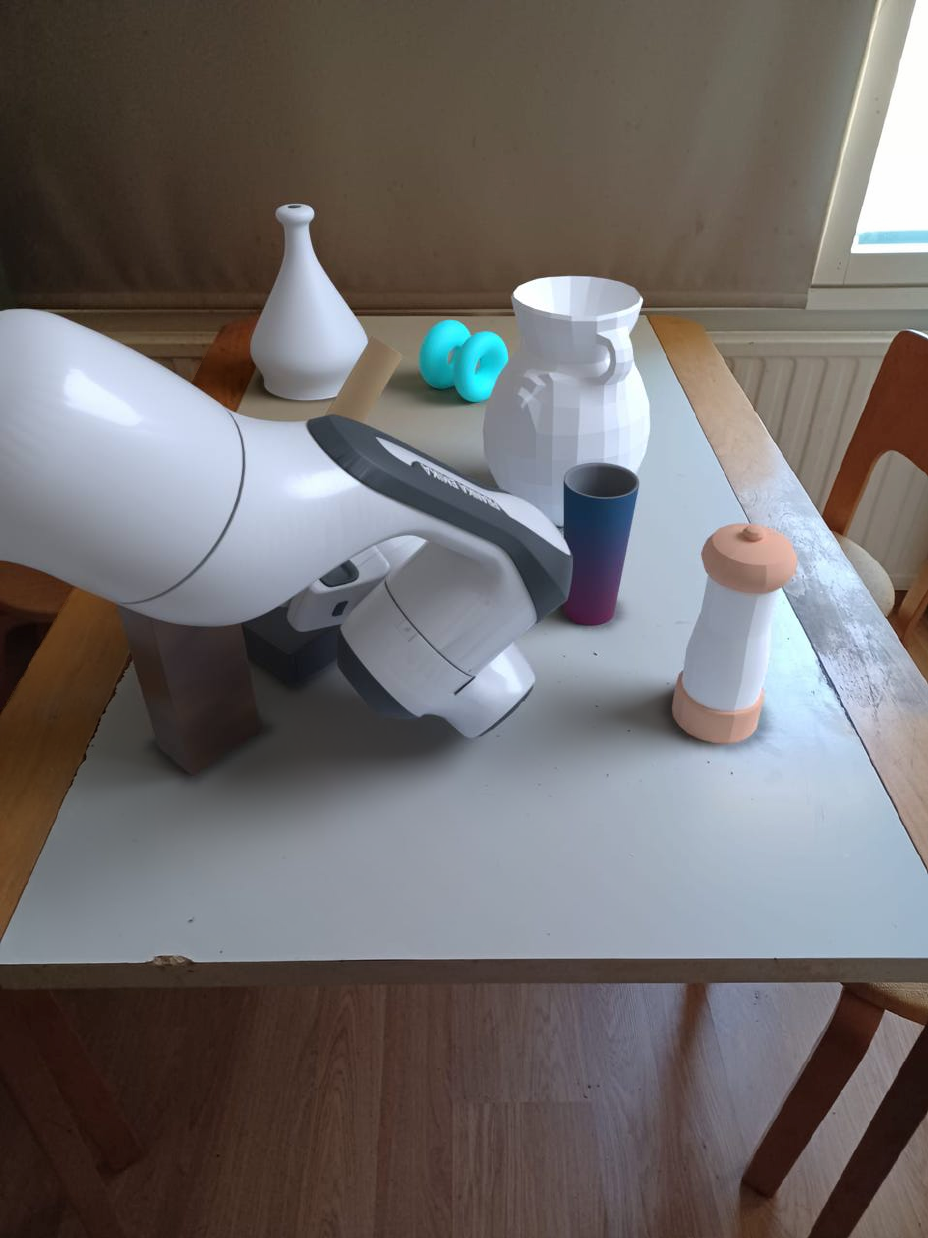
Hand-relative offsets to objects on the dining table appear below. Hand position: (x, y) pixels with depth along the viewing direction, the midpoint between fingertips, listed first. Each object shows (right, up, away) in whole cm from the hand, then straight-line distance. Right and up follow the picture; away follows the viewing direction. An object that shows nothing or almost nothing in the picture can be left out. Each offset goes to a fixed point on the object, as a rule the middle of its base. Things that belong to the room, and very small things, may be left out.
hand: (283, 449), depth 78 cm
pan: (-2, -14, +13) cm, 19 cm away
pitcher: (+27, -1, +30) cm, 40 cm away
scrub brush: (+5, +2, +1) cm, 5 cm away
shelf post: (-6, -25, -2) cm, 26 cm away
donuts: (+16, +19, +56) cm, 61 cm away
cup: (+28, -14, +13) cm, 34 cm away
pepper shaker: (+37, -23, 0) cm, 44 cm away
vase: (-7, +21, +60) cm, 64 cm away
